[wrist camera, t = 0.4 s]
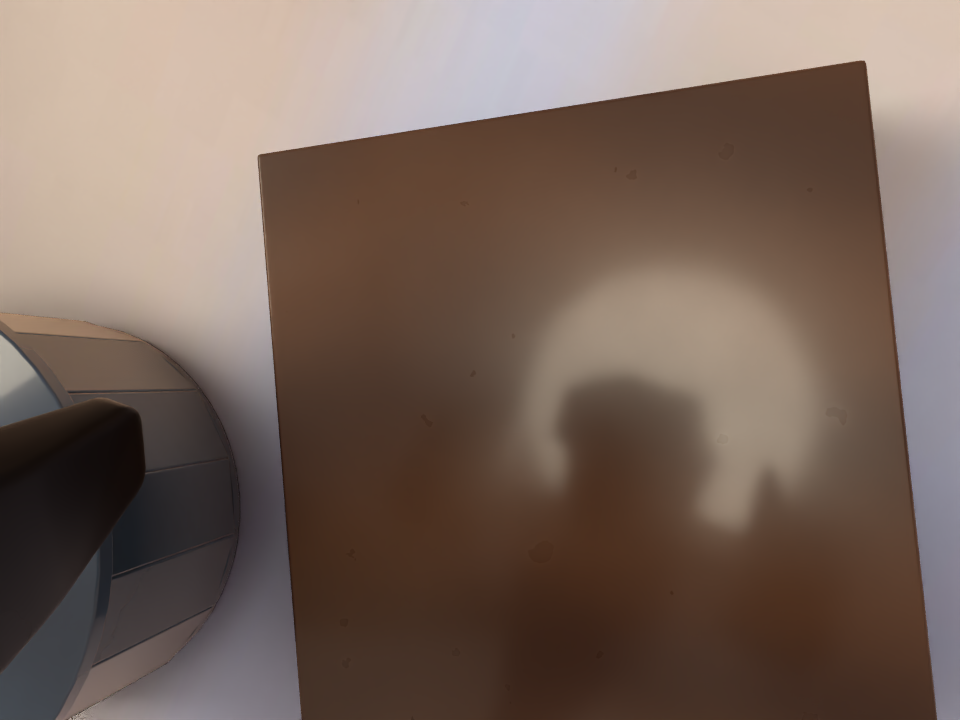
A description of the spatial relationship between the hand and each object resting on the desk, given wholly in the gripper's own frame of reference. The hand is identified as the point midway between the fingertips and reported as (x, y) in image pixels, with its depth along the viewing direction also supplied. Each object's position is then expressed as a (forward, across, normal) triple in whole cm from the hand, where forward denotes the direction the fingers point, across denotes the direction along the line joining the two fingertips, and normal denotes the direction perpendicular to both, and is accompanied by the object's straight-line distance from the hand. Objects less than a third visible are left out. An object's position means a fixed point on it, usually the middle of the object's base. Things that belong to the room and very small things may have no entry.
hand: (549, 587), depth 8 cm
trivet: (+13, +1, +7) cm, 14 cm away
